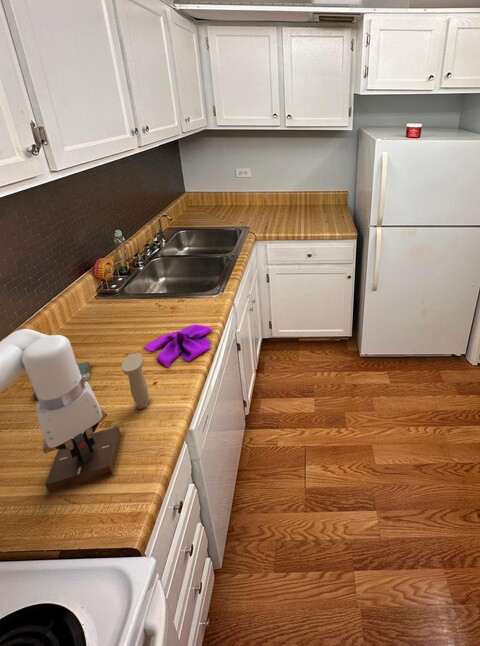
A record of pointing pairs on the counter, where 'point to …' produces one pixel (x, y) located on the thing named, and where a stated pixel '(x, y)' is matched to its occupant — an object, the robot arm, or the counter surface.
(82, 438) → the knob
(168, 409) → the counter surface
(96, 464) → the panel
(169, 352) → the cloth
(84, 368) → the button box
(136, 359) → the handle
